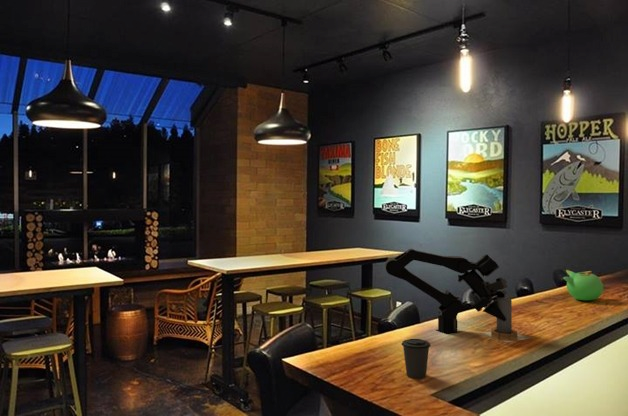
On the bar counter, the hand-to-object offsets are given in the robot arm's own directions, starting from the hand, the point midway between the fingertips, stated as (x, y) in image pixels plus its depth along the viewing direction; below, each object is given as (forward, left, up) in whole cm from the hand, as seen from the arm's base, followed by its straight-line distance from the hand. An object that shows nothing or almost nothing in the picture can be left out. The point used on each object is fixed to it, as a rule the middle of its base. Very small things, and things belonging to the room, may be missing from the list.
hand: (508, 318), depth 171 cm
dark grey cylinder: (-1, +1, -6) cm, 6 cm away
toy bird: (+86, +34, -7) cm, 93 cm away
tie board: (+1, +2, -7) cm, 8 cm away
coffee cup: (-52, -16, -7) cm, 54 cm away
